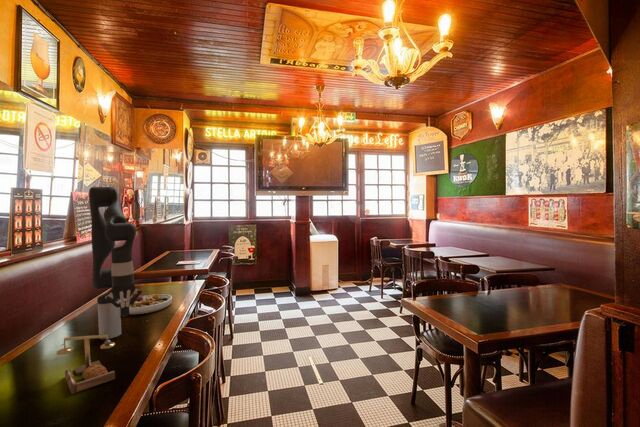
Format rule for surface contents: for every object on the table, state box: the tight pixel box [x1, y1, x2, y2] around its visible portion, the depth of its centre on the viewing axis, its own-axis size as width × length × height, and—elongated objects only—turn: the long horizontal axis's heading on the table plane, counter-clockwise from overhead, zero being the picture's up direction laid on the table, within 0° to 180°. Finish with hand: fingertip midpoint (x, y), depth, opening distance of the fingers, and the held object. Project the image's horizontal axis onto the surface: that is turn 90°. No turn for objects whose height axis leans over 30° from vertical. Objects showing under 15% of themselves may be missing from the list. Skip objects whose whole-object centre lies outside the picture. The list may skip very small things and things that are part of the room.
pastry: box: [81, 364, 108, 380], centre depth 119 cm, size 9×7×4 cm
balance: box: [55, 334, 116, 376], centre depth 125 cm, size 19×6×14 cm, turn 135°
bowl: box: [124, 293, 173, 315], centre depth 203 cm, size 30×30×8 cm
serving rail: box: [64, 368, 116, 395], centre depth 118 cm, size 16×13×3 cm
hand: (124, 316), depth 128 cm, fingers closed
